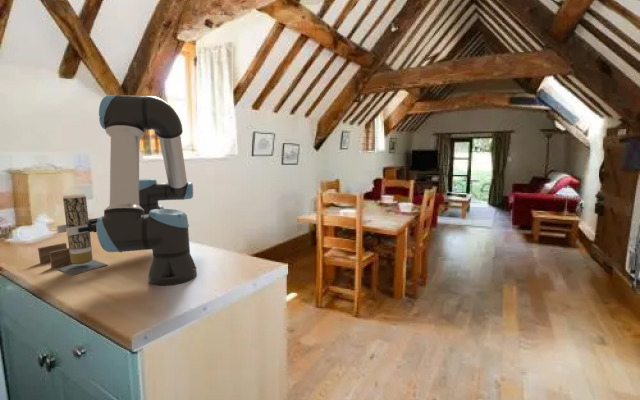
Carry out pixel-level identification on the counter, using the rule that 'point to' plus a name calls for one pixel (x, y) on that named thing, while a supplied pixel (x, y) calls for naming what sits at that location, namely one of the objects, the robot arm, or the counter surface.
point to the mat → (81, 267)
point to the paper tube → (78, 217)
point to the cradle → (55, 255)
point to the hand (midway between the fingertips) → (62, 230)
